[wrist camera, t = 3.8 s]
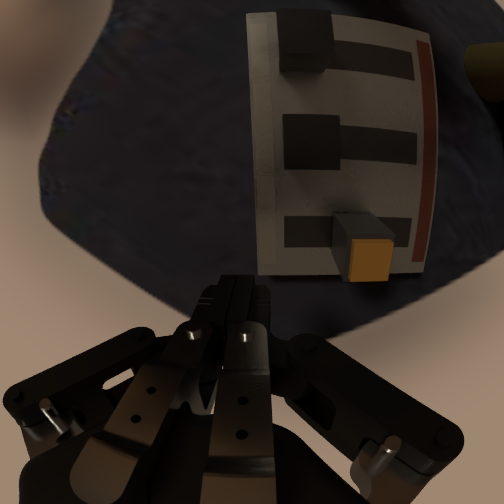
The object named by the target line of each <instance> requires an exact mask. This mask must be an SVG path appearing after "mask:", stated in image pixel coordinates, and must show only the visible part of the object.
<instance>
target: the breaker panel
mask: <svg viewBox="0 0 504 504" xmlns="http://www.w3.org/2000/svg"><path fill="white" fill-rule="evenodd" d="M246 20H247V39H248V58H249V78H250V99H251V119H252V141H253V163H254V186H255V209H256V233H257V258H258V275H340V273H339V270H338V268H337V265H336V263H335V260H334V258H333V256H332V253H331V249H332V233H333V213H358V214H374V215H375V216H376V217H377V218H378V219H379V220H380V221H381V222H383V223H384V224H385V225H386V226H387V227H388V228H389V229H390V230H391V231H392V232H393V233H394V234H395V241H394V248H393V255H392V261H391V267H390V273H419V272H423V269H424V265H425V260H426V255H427V250H428V244H429V238H430V232H431V226H432V219H433V211H434V203H435V193H436V182H437V166H438V104H437V89H436V78H435V69H434V61H433V54H432V48H431V42H430V37H429V34H428V33H425V32H422V31H418V30H415V29H411V28H407V27H403V26H399V25H395V24H390V23H386V22H381V21H376V20H370V19H364V18H358V17H351V16H343V15H333V14H331V11H329V10H316V9H276V12H268V13H249V14H246Z"/></svg>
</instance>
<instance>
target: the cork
mask: <svg viewBox="0 0 504 504" xmlns="http://www.w3.org/2000/svg"><path fill="white" fill-rule="evenodd" d="M464 65H465V70H466V73H467V76H468V78H469V81H470V82H471V84H472V86H473V87H474V89H475V90H476V91H477V93H478V94H479V95H480V96H481V97H482V98H484V99H485V100H486V101H488V102H492V103H496V102H500V101H504V42H498V43H484V44H473V45H470V46H469V47H467V48H466V50H465V53H464Z"/></svg>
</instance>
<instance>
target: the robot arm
mask: <svg viewBox="0 0 504 504" xmlns="http://www.w3.org/2000/svg"><path fill="white" fill-rule="evenodd" d="M222 366H223V369H222ZM130 368H131V369H132V372H133V374H134V376H133V377H131V378H129V379H127V380H125V381H123V382H122V383H120V384H118V385H116V386H114V387H112V388H110V389H107V390H105V389H102V388H103V384H104V383H105V382H106V381H107V380H109V379H111V378H113V377H115V376H116V375H118V374H120V373H122V372H124V371H126V370H128V369H130ZM271 394H273V395H276V396H280V397H284V399H285V402H286V403H287V405H288V406H290V407H291V408H292V409H293V410H294V411H295V412H296V413H297V414H298V415H299V416H300V417H301V418H302V419H303V420H305V421H306V422H307V423H308V424H309V425H310V426H311V427H312V428H313V429H314V430H316V431H317V432H318V433H319V434H320V435H322V437H324V438H325V439H326V440H327V441H328V442H329V443H330V444H332V445H333V446H334V447H335V448H336V449H338V450H339V451H340V452H341V453H342V454H344V455H345V456H346V457H347V458H348V459H350V460H351V461H352V462H353V463H352V466H351V468H350V476H351V478H352V480H353V482H354V483H355V484H356V485H357V486H358V488H359V490H360V494H361V495H360V494H359V493H358V492H357V491H356V490H355V489H353V488H352V487H351V486H350V485H349V484H348V483H347V482H346V481H344V480H343V479H342V478H341V477H340V476H339V475H338V474H337V473H336V472H335V471H333V470H332V469H331V468H330V467H329V466H328V465H327V464H326V463H325V462H324V461H323V460H322V459H321V458H320V457H319V456H318V455H317V454H316V453H315V452H314V451H313V450H312V449H311V448H310V447H309V446H308V445H307V444H306V443H305V442H304V441H303V440H302V439H301V438H299V437H298V436H297V435H296V434H295V433H293V432H291V431H290V430H288V429H286V428H284V427H282V426H279V425H276V424H273V423H272V404H271ZM214 401H215V406H214V414H210V413H211V410H212V407H213V404H214ZM3 405H4V407H5V408H6V410H7V411H8V412H9V413H10V414H11V416H12V417H13V418H14V419H15V420H16V422H17V424H18V425H19V426H20V427H21V430H22V434H23V438H24V441H25V444H26V447H27V451H28V454H29V456H30V461H28V462H27V463H26V465H25V466H24V468H23V469H22V472H21V474H20V479H19V504H410V503H411V502H412V501H413V500H414V499H415V498H416V496H417V495H418V494H419V493H420V492H421V490H422V489H423V488H424V487H425V485H426V484H427V483H428V482H429V481H430V480H431V479H432V478H433V477H435V476H436V475H437V474H438V473H439V472H441V471H442V470H443V469H444V468H445V467H446V466H447V465H448V464H449V463H451V462H452V461H453V460H454V459H455V458H456V457H457V456H458V455H459V454H460V452H461V451H462V449H463V446H464V435H463V433H462V431H461V429H460V428H459V427H458V426H457V425H456V424H454V423H453V422H451V421H449V420H448V419H446V418H445V417H443V416H441V415H440V414H438V413H436V412H435V411H433V410H431V409H430V408H428V407H427V406H425V405H423V404H422V403H420V402H419V401H417V400H416V399H414V398H412V397H411V396H409V395H408V394H406V393H405V392H403V391H401V390H400V389H398V388H397V387H395V386H394V385H392V384H391V383H389V382H388V381H386V380H384V379H383V378H381V377H380V376H378V375H377V374H375V373H374V372H372V371H371V370H369V369H368V368H366V367H365V366H363V365H362V364H360V363H359V362H357V361H356V360H354V359H353V358H351V357H350V356H348V355H347V354H345V353H344V352H342V351H341V350H339V349H338V348H336V347H335V346H333V345H332V344H331V343H329V342H328V341H326V340H325V339H323V338H322V337H320V336H318V335H314V334H300V335H297V336H294V337H293V338H291V339H290V340H289V341H285V340H281V339H278V338H276V337H275V336H273V335H272V334H271V333H270V291H269V289H268V288H267V287H266V285H255V275H221V277H220V279H219V282H218V285H210V286H208V287H207V288H206V289H205V290H203V292H202V294H201V297H200V299H199V301H198V304H197V306H196V308H195V310H194V312H193V315H192V317H191V319H190V320H189V321H186V322H184V323H182V324H181V325H179V326H178V327H177V329H176V331H175V332H174V334H173V335H169V336H162V337H156V336H155V333H154V331H152V329H149V328H147V327H136V328H132V329H130V330H128V331H126V332H124V333H122V334H120V335H118V336H116V337H114V338H112V339H109V340H107V341H105V342H103V343H101V344H99V345H97V346H95V347H93V348H91V349H89V350H87V351H85V352H83V353H81V354H79V355H76V356H74V357H72V358H70V359H68V360H66V361H64V362H62V363H60V364H57V365H55V366H53V367H51V368H49V369H47V370H45V371H43V372H41V373H38V374H36V375H34V376H32V377H30V378H28V379H26V380H23V381H21V382H19V383H17V384H15V385H13V386H11V387H10V388H9V389H8V390H7V391H6V392H5V394H4V397H3Z"/></svg>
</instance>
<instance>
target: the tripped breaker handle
mask: <svg viewBox="0 0 504 504" xmlns="http://www.w3.org/2000/svg"><path fill="white" fill-rule="evenodd" d="M394 241H395V234H394V233H393V232H392V231H391V230H390V229H389V228H388V227H387V226H386V225H385V224H384V223H383V222H381V221H380V220H379V219H378V218H377V217H376V216H375V215H374V214H358V213H333V233H332V249H331V253H332V256H333V258H334V260H335V263H336V265H337V268H338V270H339V273H340V275H341V278H342V280H343V281H350V282H365V281H388V278H389V273H390V267H391V261H392V255H393V248H394Z"/></svg>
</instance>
